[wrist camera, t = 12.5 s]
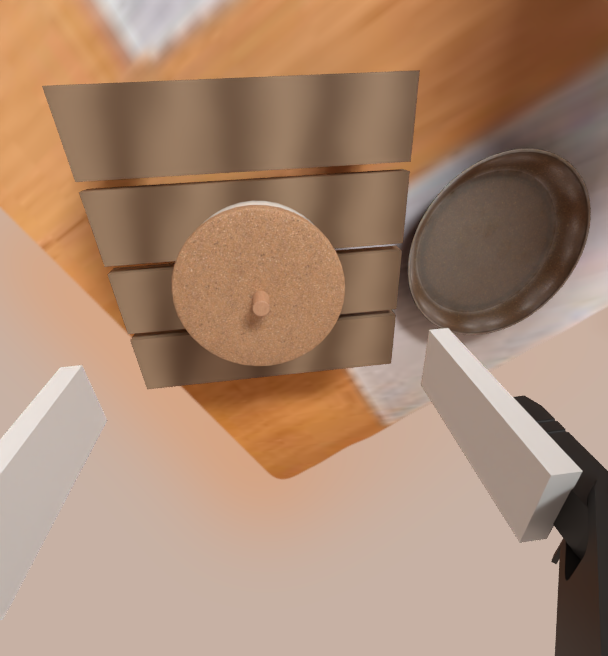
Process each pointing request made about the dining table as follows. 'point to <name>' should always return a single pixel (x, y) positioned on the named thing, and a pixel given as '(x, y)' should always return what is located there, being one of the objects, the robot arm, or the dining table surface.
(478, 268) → the plant saucer
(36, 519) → the robot arm
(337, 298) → the lidded jar
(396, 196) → the walnut rack
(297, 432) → the dining table surface
